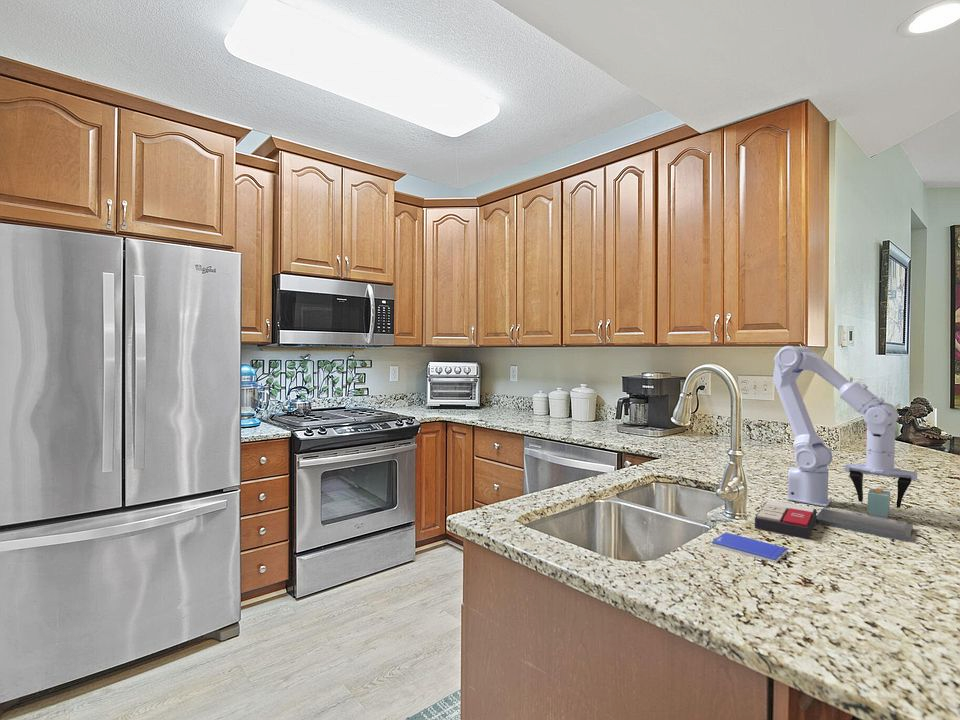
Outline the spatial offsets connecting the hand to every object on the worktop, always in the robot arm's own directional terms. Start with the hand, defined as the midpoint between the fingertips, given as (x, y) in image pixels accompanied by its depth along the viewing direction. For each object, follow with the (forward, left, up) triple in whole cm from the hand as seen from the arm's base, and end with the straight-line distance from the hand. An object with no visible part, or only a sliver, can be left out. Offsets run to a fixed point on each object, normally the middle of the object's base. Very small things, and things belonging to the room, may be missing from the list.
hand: (879, 503), depth 131 cm
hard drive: (-18, -47, -4) cm, 51 cm away
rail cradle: (-2, -12, -3) cm, 13 cm away
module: (0, 0, -3) cm, 3 cm away
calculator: (-16, -25, -4) cm, 30 cm away
